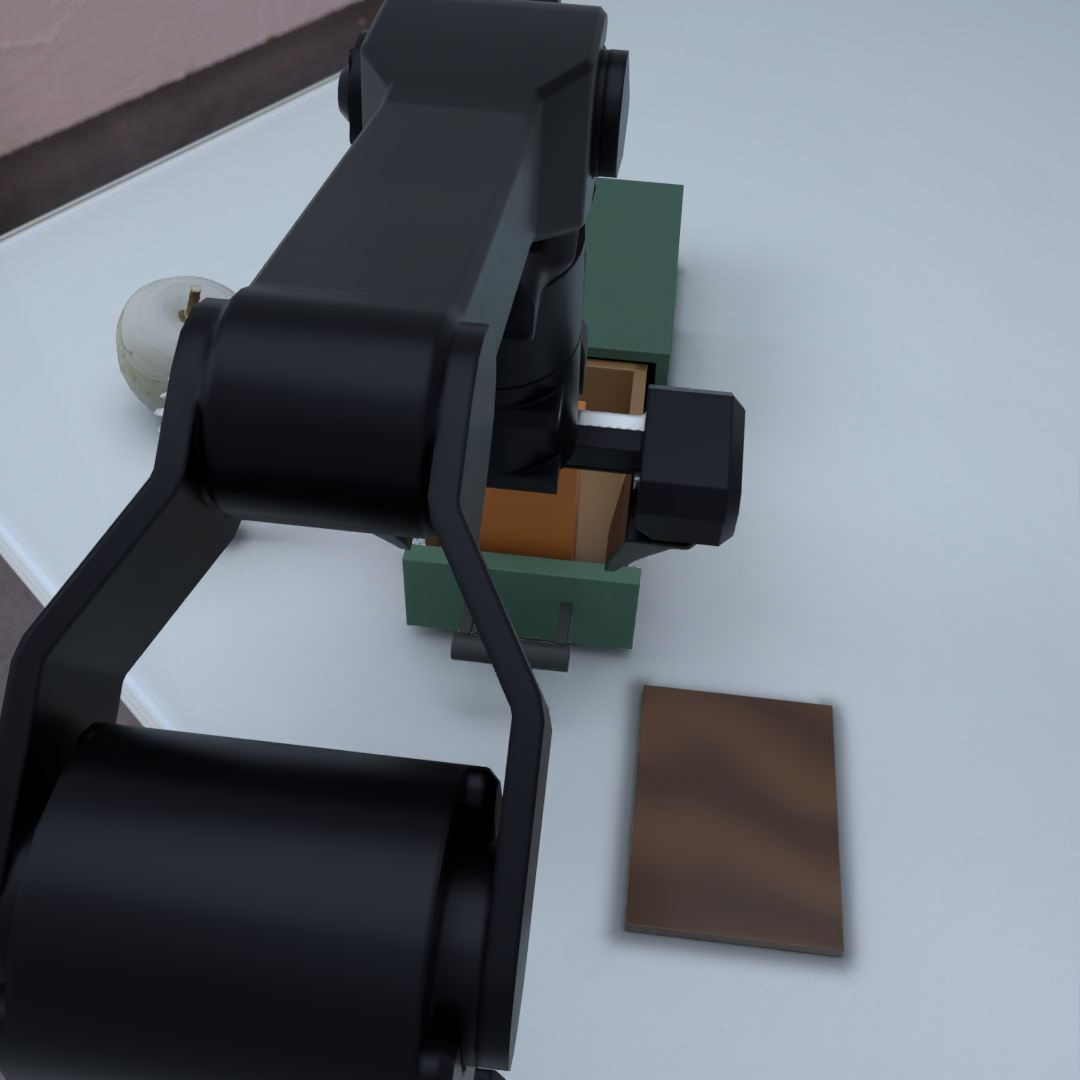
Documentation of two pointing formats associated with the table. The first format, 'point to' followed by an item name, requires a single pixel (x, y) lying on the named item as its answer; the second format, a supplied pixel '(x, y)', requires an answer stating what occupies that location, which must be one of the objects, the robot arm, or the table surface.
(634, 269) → the cabinet
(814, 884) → the board
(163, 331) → the decorative object
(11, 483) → the table surface
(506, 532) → the orange rectangular prism
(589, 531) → the drawer
